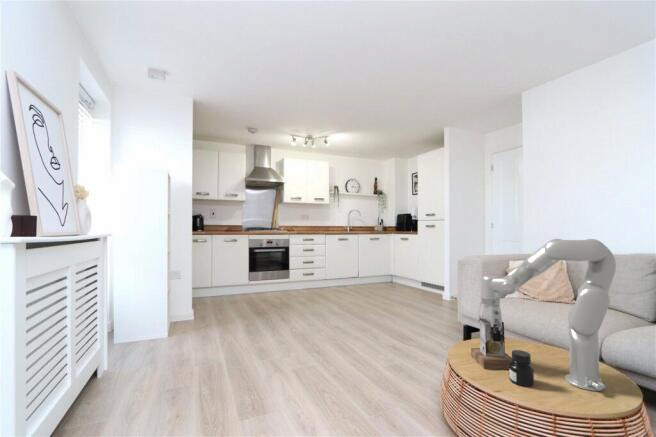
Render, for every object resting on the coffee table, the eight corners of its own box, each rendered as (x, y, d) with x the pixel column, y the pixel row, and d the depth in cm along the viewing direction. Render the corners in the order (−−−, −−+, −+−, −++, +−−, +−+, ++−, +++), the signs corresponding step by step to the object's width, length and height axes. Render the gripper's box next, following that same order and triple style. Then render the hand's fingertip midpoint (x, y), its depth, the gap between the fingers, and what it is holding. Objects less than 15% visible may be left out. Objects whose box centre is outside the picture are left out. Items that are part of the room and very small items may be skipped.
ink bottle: (510, 374, 139) (510, 347, 139) (534, 380, 134) (533, 351, 134) (508, 383, 131) (507, 354, 131) (533, 390, 126) (533, 359, 126)
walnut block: (515, 368, 144) (515, 360, 144) (484, 368, 144) (484, 359, 145) (499, 356, 158) (499, 348, 158) (471, 356, 158) (471, 348, 159)
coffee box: (499, 351, 154) (498, 318, 154) (505, 356, 148) (504, 322, 148) (479, 351, 155) (479, 318, 155) (485, 356, 148) (484, 321, 149)
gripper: (508, 306, 143) (509, 344, 143) (490, 297, 160) (490, 331, 160) (491, 306, 143) (492, 344, 143) (475, 297, 161) (475, 331, 160)
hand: (491, 337), depth 152 cm, fingers open, 9 cm apart
